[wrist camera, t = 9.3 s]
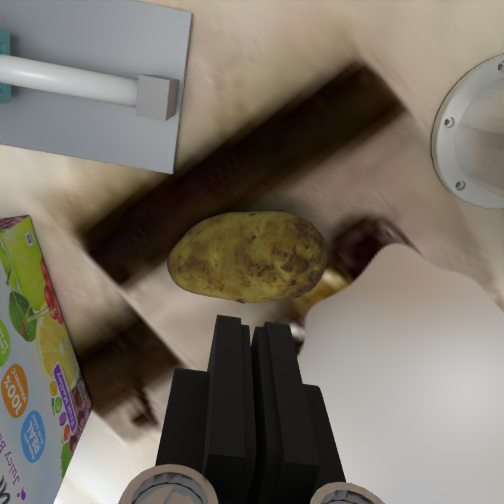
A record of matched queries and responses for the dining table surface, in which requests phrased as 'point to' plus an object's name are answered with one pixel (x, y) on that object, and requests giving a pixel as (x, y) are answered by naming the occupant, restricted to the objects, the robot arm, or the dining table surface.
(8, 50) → the teal sliding cube
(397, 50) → the dining table surface
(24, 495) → the snack box
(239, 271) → the potato
